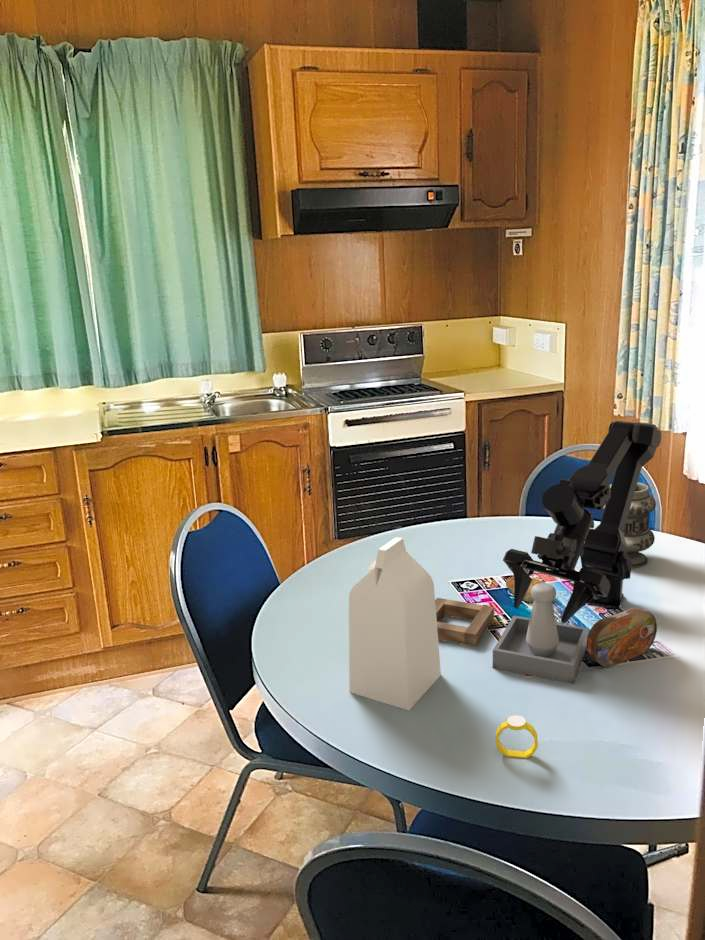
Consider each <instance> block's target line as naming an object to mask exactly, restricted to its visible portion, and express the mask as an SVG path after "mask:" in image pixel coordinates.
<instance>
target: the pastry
mask: <svg viewBox="0 0 705 940" xmlns="http://www.w3.org/2000/svg"><path fill="white" fill-rule="evenodd" d="M530 578H531V579H532V581H531V583H530V585H529V588H528V590H527V592H526V594H525V596H524V599H523V601H525V602H528V603H532V602H534V599H532V596H531V589H532V587H533V586H534V585H536V584H538V583H546V582H545V581H541V580H540V579H537V578H536V577H532V576H530ZM505 586H506V588H507V589H508V590H509V591H510V592H511V594H512V595H513V596H514V587H515V583H514V576H513V577H512V576H511V577H509V578H507V579H506V580H505Z"/></svg>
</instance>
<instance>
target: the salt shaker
mask: <svg viewBox="0 0 705 940" xmlns="http://www.w3.org/2000/svg"><path fill="white" fill-rule="evenodd" d="M531 596H532V599H534V601H533V603H532V608H531V614H530V617H529V618H530V621H529V626H528V631H527V635H526V642H527V644H528V646H529V649H530V651H531V652H532V653H533V655H534V656H539V657H544V658H545V657H549V656H552V655H553V654H554V652H555V650H556V648H557V646H558V644H559V637H558V632H557V627H556V623H557V622H556V616H555V611H554V606H553V605H554V604H553V601H555V599H556V598H557V589H556V587H554V586H553V585H552V584H549V583H546V582H545V583H538V584H536V585H534V586H533V587H532V589H531Z"/></svg>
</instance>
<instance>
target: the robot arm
mask: <svg viewBox="0 0 705 940" xmlns="http://www.w3.org/2000/svg"><path fill="white" fill-rule="evenodd" d="M661 440H662V432H661V430H659V429H658V427H657V425H656V424H652V423H643V422H635V421H622V420H621V421H620V420H615V421H611V422H610V423H609V427H608V432H607V433H606V436H605V437H604V438H603V440H602V441H601V443H600V445H599V446H598V448H597V449H596V451H595V453H594V454H593V455H592V458H591V459H590V460H589V463H587V465H585V466H583V467H580V468H577V469H576V470H575V471H574V473H572V475H571V476H570V477H569V478H568V479H562V478H560V480H559V482H558V484H557V483H556V484H554V485H552V486H549V488H547V489H546V490H545V491H544V492H543V494H542V497H541V503H542V506H543V507H544V509H545V510H546V512H547V513H548V514H549V516H550V518H551V519H552V520H553V522H554V523H555V524H556V526H555V528H554V530H553V533H552V532H550V533H549V534H548V535H547V538H546V537H543V536H542V537H541V536H537V535H535V536H534V539H533V543H532V547H531V552H530V553H531V554H533V555H537V558H538V559H539V560H542V561H537V560H534V559H533V558H532V556H531V555H530V554H529V552H528V551H527V552H526V551H522V550H518V549H514V548H510V549H509V550H507V551H506V552H505V554H504V557H503V559H502V561H503V562H504V564H505V565H506V566H507V568H508V569H509V570H510V571H511V572H512V574H513V577H514V583H515V587H514V595H513V608H514V609H516V610H517V609H519V607H520V606H521V605H522V603H523V601H524V600H523V599H524V596H525V594H526V592H527V590H528V588H529V585H530V583H531V581H532V579H531V578H532V577H531V576H532V575H533V574H534V573H536V572H537V573H538V574H539V573H540V574H544V575H547V576H551V577H555V578H559V579H562V580H566V581H570V582H573V586H572V587H573V588H572V592H571V595H570V597H569V598H568V602H566V606H565V607H564V610H563V613H562V616H561V619H560V620H561V624H566V623H567V622H568V621H569V620H570V619H571V618H572V617H573V616H574V615H575V614H576V613H577V612H579V611H580V610H581V609H582V608H583V607H585V606H586V605H587V604H589V605H594V606H595V605H596V606H602V607H607V608H614V609H620V607H621V605H622V601H623V599H624V593H623V585H624V580H628V579H629V580H630V579H631V576H632V575H631V573H632V571H633V568H632V562H631V560H630V558H629V557H628V555H627V553H626V552H627V544H626V541H625V537H624V534H623V531H624V528H625V524H626V521H627V517H628V514H629V510H630V507H631V503H632V500H633V496H634V493H635V489H636V486H637V482H638V483H639V478H640V474H641V470H642V468H643V466H645V465H646V464H648V462H649V461H651V460H652V459H653V458H654V456H655V453H656V451H657V448H658V447H660V444H661ZM612 477H613V479H612ZM611 479H612V481H611ZM610 481H611V484H612V485H611V484H610ZM610 485H611V488H610ZM604 506H605V509H604V508H603V507H604ZM585 508H586V509H585ZM587 509H590V510H591V509H592V510H603V512H602V516H601V518H600V519H601V520H600V523H599V524H598V525H597V526H596V527H595V521H594V518H593V515H592V513H590V512H589V511H588V510H587ZM579 558H580V563H581V568H580V569H579V571H577V570H576V567H577V564H578V560H579ZM530 577H531V578H530Z"/></svg>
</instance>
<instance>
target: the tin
mask: <svg viewBox="0 0 705 940" xmlns="http://www.w3.org/2000/svg"><path fill="white" fill-rule="evenodd" d="M657 632H658V624H657V619H656V617H655V615H654V614H653V613H652V612H650V611H647V610H644V609H640V608H637V607H632V608H628V609H626V610H623V611H620V612H618V613H614V614H611V615H609V616H606V617H603V618H601V619H599V620H597V621H596V622H595V623H594V624H593V625H592V627H591V628H590V630H589V632H588V636H587V649H586V652H587V655H588V657H589V658H590V659H591V660H592V661H593V662H596V663H597V664H599V665H600V666H602V667H604V668H610V667H614V666H616V665H619V664H621V663H624V662H627V661H628V660H631V659H635V658H637V657H639V656H641V655H644V654H645V653H647V652H648V651H649V649H650V648H651V647H652V645H653V644H654V642H655V639H656V637H657Z"/></svg>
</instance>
